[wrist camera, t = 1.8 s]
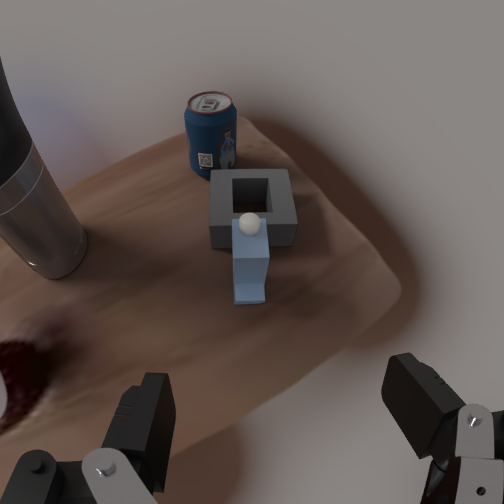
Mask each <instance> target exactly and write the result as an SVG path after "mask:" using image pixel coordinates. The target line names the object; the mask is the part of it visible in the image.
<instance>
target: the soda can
mask: <svg viewBox="0 0 504 504" xmlns="http://www.w3.org/2000/svg"><path fill="white" fill-rule="evenodd" d="M236 112H237V111H236V108H235V106H234V105H233V103H232V99H231V97H230V96H228V95H227V94H225V93H222V92H216V91H209V92H203V93H199V94H196V95H194V96H193V97H191V98H190V99H189V101H188V107H187V108H186V111H185V113H184V118H185V126H186V135H187V142H188V150H189V158H190V165H191V168H192V169H193V170H194V172H196V173H197V174H198V175H199V176H201V177H202V178H205V179H210V180H211V170H224V169H233V168H234V166H235V164H236V120H237V115H236Z"/></svg>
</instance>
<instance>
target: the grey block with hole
mask: <svg viewBox="0 0 504 504" xmlns="http://www.w3.org/2000/svg"><path fill="white" fill-rule="evenodd" d="M244 202H265V203H266V211H267V212H261V213H254V214H256V215H257V216H258V217H259V218H265V219H266V228H267V237H268V246H269V247H280V246H292V243H293V240H294V236H295V233H296V229H297V226H298V221H297V216H296V210H295V205H294V200H293V194H292V189H291V184H290V179H289V174H288V169H224V170H211V181H210V212H209V229H210V237H211V245H212V249H213V248H232V219H240V217H241V216H242V215H243V214H245V213H233V203H244Z"/></svg>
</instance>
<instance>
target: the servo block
mask: <svg viewBox="0 0 504 504" xmlns="http://www.w3.org/2000/svg"><path fill="white" fill-rule="evenodd" d="M232 253H233V287H234V305H239V304H261V303H264V302H265V292H264V284H265V279H266V274H267V269H268V263H269V258H270V256H269V246H268V237H267V228H266V219H265V218H259V217H258V216H257V215H256V214H254V213H245V214H243V215H242V216H241V217H240V219H232Z"/></svg>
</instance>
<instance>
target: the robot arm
mask: <svg viewBox="0 0 504 504" xmlns="http://www.w3.org/2000/svg"><path fill="white" fill-rule="evenodd" d="M0 236H1V238H2V239H3V240H4V241H5V242H6V243H7V244H8V245H9V246H10V247H11V248H12V249H13V250H14V251H15V252H16V253H17V254H18V255H19V256H20V257H21V259H22V260H23V261H24V262H26V263H27V264H28V265H29V266H30V267H31V268H32V269H33V270H37V271H38V272H39V273H40V274H41V275H42V276H44V277H45V278H48V279H59V278H62V277H64V276H66V275H68V274H69V273H71V272H72V271H73V270H74V269H75V268H76V267H77V266H78V265H79V264H80V262H81V261H82V259H83V257H84V255H85V252H86V249H87V235H86V232H85V231H84V229H83V228H82V226H81V225H80V223H79V221H78V220H77V218H76V217H75V215H74V213H73V212H72V210H71V208H70V207H69V205H68V203H67V202H66V200H65V198H64V197H63V195H62V193H61V192H60V190H59V188H58V187H57V185H56V183H55V182H54V180H53V178H52V176H51V174H50V172H49V171H48V169H47V167H46V165H45V163H44V161H43V159H42V158H41V156H40V154H39V152H38V150H37V148H36V146H35V144H34V142H33V140H32V138H31V136H30V134H29V132H28V130H27V128H26V126H25V125H24V122H23V121H22V119H21V116H20V114H19V112H18V110H17V107H16V105H15V103H14V100H13V97H12V95H11V92H10V89H9V86H8V83H7V80H6V76H5V73H4V70H3V66H2V62H1V58H0ZM381 394H382V399H383V402H384V403H385V405H386V407H387V408H388V410H389V411H390V413H391V414H392V416H393V418H394V419H395V421H396V422H397V424H398V426H399V427H400V429H401V430H402V432H403V433H404V435H405V437H406V438H407V440H408V442H409V443H410V445H411V446H412V448H413V450H414V451H415V453H416V455H417V456H418V457H419V459H422V458H425V457H427V456H430V455H431V456H432V457H433V460H432V461H431V464H430V467H429V472H428V476H427V480H426V484H425V488H424V492H423V495H422V499H421V502H420V504H504V410H503V411H498V412H490V411H489V410H488V409H486V408H485V407H483V406H481V405H478V404H469V405H466V404H465V403H464V402H463V400H462V399H461V398H460V397H459V396H458V395H457V394H456V393H455V392H454V391H453V390H452V388H450V386H449V385H448V384H446V383H445V381H444V380H443V379H442V378H440V376H439V375H438V373H437V372H436V371H434V369H433V368H431V367H429V366H428V365H426V364H424V363H422V362H421V363H420V362H419V361H418V360H417V359H416V358H415V357H414V356H413V355H412V354H411V353H404V354H399V355H394V356H392V357H390V359H389V361H388V365H387V370H386V373H385V377H384V381H383V385H382V390H381ZM118 405H119V406H118V407H117V409H116V412H115V415H114V417H113V419H112V421H111V424H110V426H109V429H108V431H107V434H106V437H105V439H104V442H103V444H102V447H101V448H100V449H96V450H94V451H92V452H90V453H89V454H87V455H86V457H85V458H84V460H83V461H72V462H56V460H55V459H54V458H53V456H52V455H51V454H49V453H48V452H46V451H43V450H31V451H29V452H26V453H25V454H23V455H22V456H21V457H20V459H19V460H18V462H17V464H16V466H15V469H14V471H13V473H12V475H11V477H10V479H9V482H8V484H7V486H6V489H5V491H4V493H3V496H2V498H1V500H0V504H157V502H156V501H155V499H154V498H153V492H161V493H164V488H165V481H166V474H167V467H168V462H169V456H170V450H171V444H172V438H173V432H174V427H175V421H176V409H175V403H174V398H173V394H172V389H171V384H170V379H169V376H168V374H167V373H148V372H147V373H145V375H144V378H143V381H142V383H141V386H131V387H130V388H129V389H128V390H127V391H126V392H125V393H124V394H123V395H122V397H121V400H120V402H119V404H118Z"/></svg>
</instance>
